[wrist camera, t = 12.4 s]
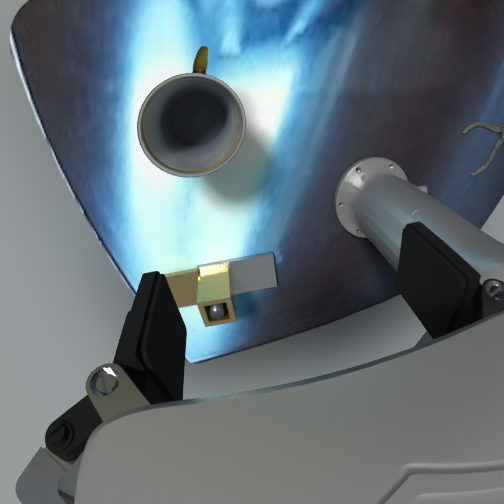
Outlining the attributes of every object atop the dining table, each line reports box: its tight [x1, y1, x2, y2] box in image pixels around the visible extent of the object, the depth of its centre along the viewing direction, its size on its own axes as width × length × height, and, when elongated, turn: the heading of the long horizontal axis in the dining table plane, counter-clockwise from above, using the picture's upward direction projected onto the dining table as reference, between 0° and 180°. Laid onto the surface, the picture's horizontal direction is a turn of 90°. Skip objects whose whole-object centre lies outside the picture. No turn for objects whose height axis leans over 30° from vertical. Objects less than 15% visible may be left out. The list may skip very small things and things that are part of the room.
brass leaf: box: [164, 267, 237, 327], centre depth 41 cm, size 11×6×7 cm, turn 99°
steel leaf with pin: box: [197, 251, 277, 319], centre depth 41 cm, size 11×6×8 cm, turn 99°
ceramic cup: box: [137, 46, 246, 177], centre depth 28 cm, size 13×10×10 cm
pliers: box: [463, 122, 504, 176], centre depth 36 cm, size 10×1×20 cm
